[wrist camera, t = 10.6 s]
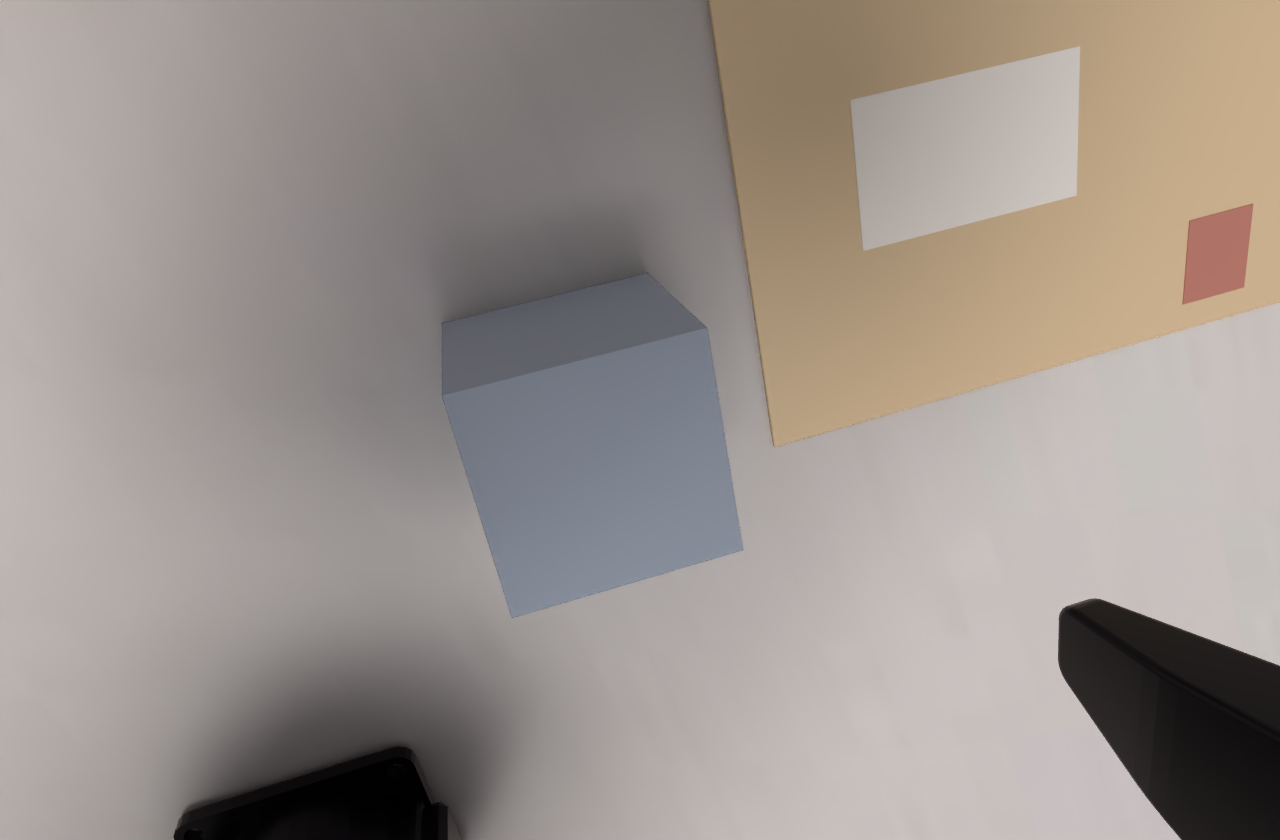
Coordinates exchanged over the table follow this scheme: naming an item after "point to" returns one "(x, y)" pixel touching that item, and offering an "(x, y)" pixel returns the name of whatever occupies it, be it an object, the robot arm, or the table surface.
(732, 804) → the table surface
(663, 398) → the slate-blue cube
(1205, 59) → the kraft envelope
